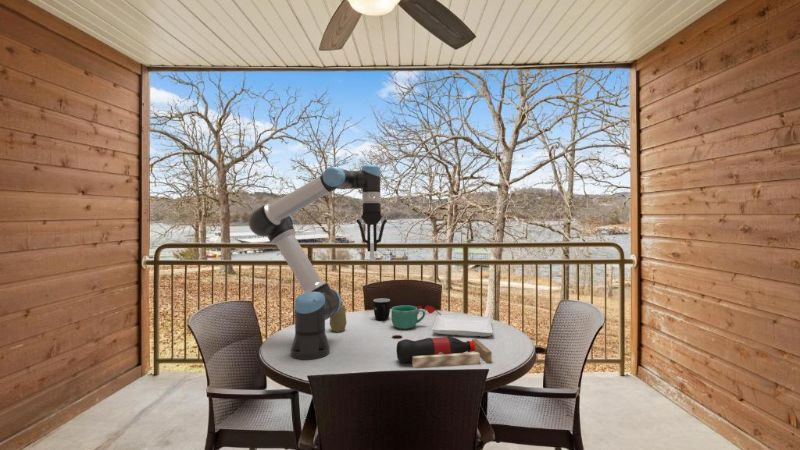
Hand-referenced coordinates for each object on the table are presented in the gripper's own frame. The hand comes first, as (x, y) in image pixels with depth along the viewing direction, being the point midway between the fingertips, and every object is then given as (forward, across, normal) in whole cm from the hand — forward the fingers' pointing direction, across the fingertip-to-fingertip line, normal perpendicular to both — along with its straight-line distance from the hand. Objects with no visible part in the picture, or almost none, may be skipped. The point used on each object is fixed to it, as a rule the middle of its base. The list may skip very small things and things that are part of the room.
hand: (372, 259), depth 168 cm
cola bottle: (+32, +9, -20) cm, 39 cm away
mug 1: (+37, +6, +42) cm, 56 cm away
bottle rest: (+37, +28, -16) cm, 49 cm away
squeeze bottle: (+37, -16, +25) cm, 47 cm away
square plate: (+37, +43, +21) cm, 61 cm away
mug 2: (+37, +18, +27) cm, 49 cm away
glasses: (+37, +30, +46) cm, 66 cm away
